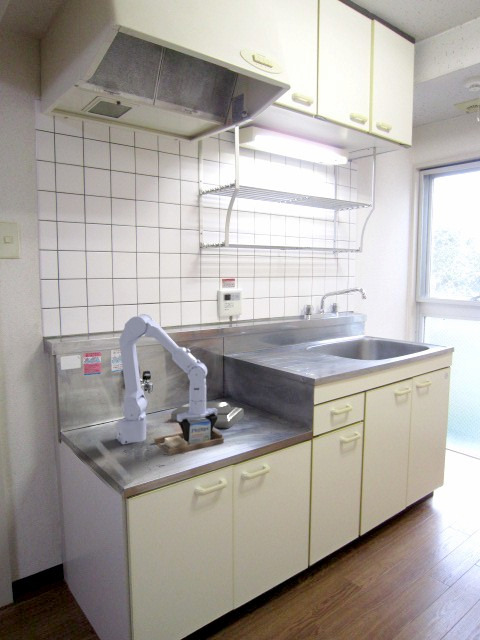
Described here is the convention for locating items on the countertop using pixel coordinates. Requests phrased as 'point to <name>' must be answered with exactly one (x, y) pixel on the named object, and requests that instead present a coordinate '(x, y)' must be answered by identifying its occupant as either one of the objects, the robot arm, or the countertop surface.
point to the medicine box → (199, 430)
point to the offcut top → (175, 442)
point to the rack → (216, 440)
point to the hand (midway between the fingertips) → (197, 438)
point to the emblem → (224, 413)
